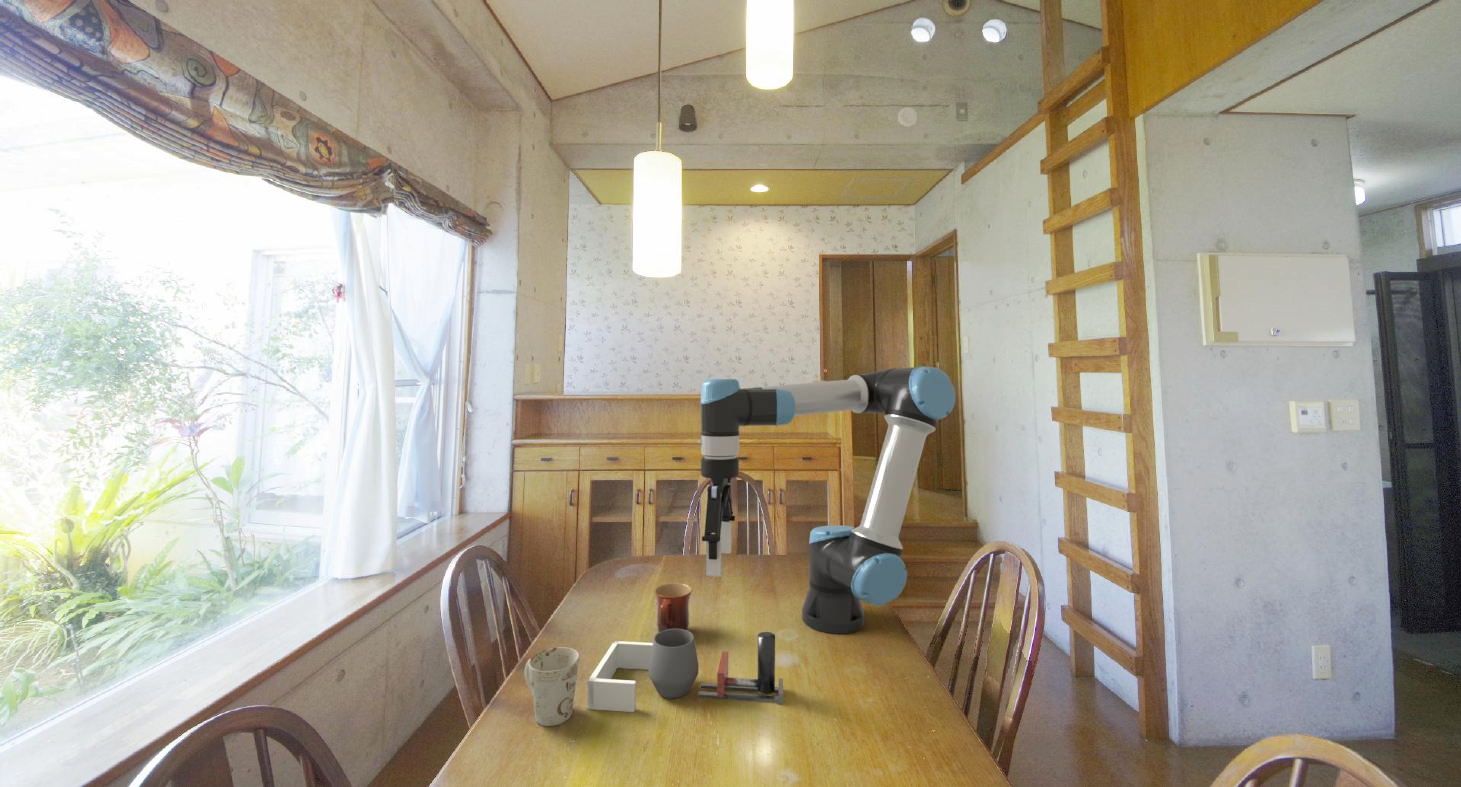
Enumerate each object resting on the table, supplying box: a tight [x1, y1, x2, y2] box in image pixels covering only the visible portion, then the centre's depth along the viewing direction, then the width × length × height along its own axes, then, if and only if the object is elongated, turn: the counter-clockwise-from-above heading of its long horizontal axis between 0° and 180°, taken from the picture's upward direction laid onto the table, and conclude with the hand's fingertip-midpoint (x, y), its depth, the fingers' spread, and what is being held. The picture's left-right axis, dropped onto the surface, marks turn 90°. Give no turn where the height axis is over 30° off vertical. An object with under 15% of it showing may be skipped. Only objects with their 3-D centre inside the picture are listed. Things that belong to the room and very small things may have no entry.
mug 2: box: [653, 582, 693, 633], centre depth 121 cm, size 12×9×10 cm
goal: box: [587, 640, 653, 713], centre depth 101 cm, size 8×15×5 cm, turn 174°
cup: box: [648, 629, 699, 699], centre depth 100 cm, size 10×9×10 cm
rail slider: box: [716, 631, 776, 698], centre depth 98 cm, size 10×8×10 cm
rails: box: [697, 678, 784, 706], centre depth 99 cm, size 16×5×2 cm, turn 85°
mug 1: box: [524, 646, 580, 727], centre depth 93 cm, size 8×13×10 cm, turn 58°
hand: (719, 563), depth 105 cm, fingers open, 13 cm apart
